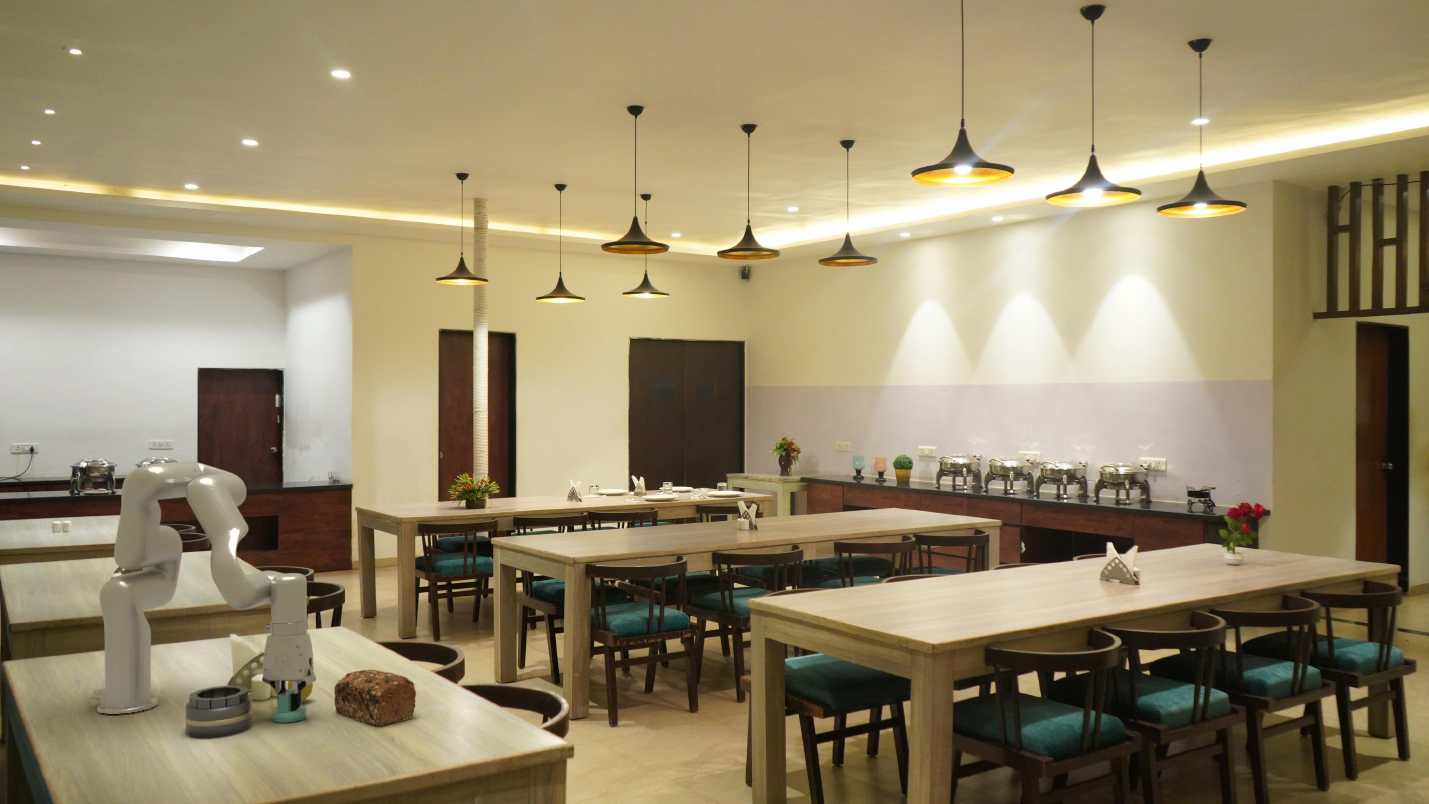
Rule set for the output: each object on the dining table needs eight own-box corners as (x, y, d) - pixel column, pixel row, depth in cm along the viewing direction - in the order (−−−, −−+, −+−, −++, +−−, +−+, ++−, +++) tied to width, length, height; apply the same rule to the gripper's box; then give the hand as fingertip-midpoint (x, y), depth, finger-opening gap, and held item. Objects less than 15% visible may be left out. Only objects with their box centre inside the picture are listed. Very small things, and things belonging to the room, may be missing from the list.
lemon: (304, 706, 244) (303, 672, 244) (283, 705, 245) (283, 671, 245) (317, 699, 249) (317, 666, 249) (297, 698, 250) (296, 665, 250)
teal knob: (267, 722, 231) (267, 695, 231) (283, 713, 238) (282, 687, 238) (297, 722, 230) (296, 695, 230) (312, 713, 237) (311, 687, 237)
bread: (417, 718, 234) (417, 674, 234) (374, 729, 226) (374, 684, 226) (373, 703, 246) (373, 661, 246) (331, 713, 238) (331, 670, 238)
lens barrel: (172, 737, 221) (172, 700, 221) (207, 719, 234) (207, 684, 234) (230, 739, 219) (230, 701, 219) (263, 720, 233) (263, 685, 233)
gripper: (246, 631, 231) (246, 713, 230) (314, 632, 229) (315, 715, 229) (264, 624, 238) (264, 704, 238) (330, 625, 237) (330, 705, 237)
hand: (289, 708), depth 234 cm, fingers closed on teal knob
